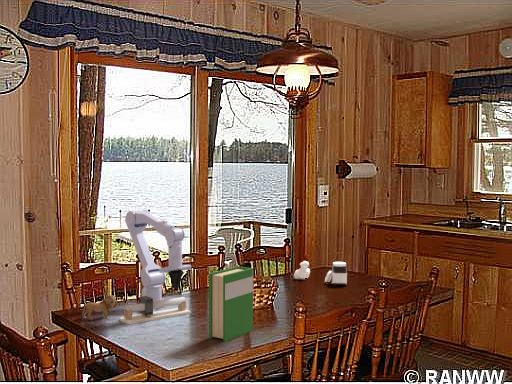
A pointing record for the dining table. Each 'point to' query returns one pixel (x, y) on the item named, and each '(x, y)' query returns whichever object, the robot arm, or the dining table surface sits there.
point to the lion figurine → (99, 307)
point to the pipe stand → (156, 315)
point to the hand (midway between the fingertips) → (175, 288)
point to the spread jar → (337, 274)
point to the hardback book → (230, 302)
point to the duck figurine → (302, 271)
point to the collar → (147, 305)
